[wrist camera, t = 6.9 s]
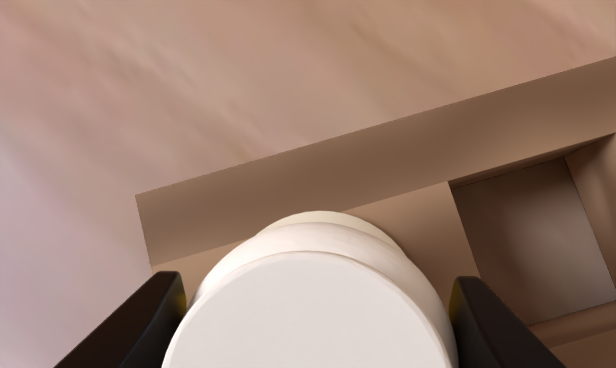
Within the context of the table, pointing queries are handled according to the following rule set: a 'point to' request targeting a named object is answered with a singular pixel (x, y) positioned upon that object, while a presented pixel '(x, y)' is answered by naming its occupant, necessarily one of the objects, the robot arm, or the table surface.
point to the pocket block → (414, 190)
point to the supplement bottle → (314, 306)
